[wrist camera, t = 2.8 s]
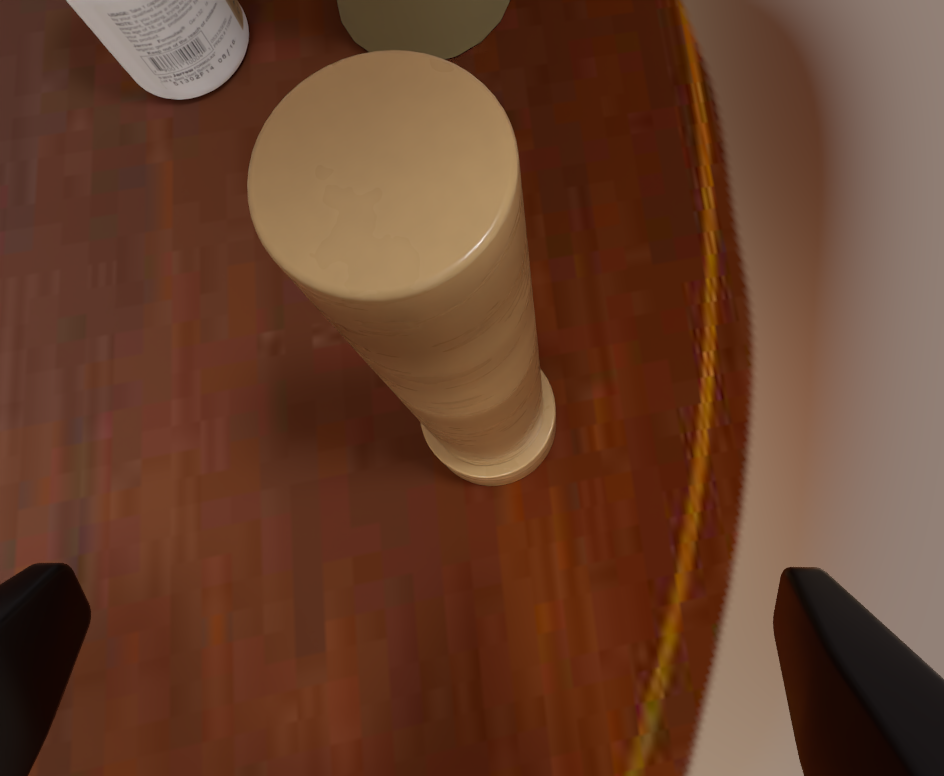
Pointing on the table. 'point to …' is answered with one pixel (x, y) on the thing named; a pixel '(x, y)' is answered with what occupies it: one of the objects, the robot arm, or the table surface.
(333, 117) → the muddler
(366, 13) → the pepper shaker
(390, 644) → the table surface
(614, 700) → the table surface
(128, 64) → the pill bottle
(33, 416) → the table surface
